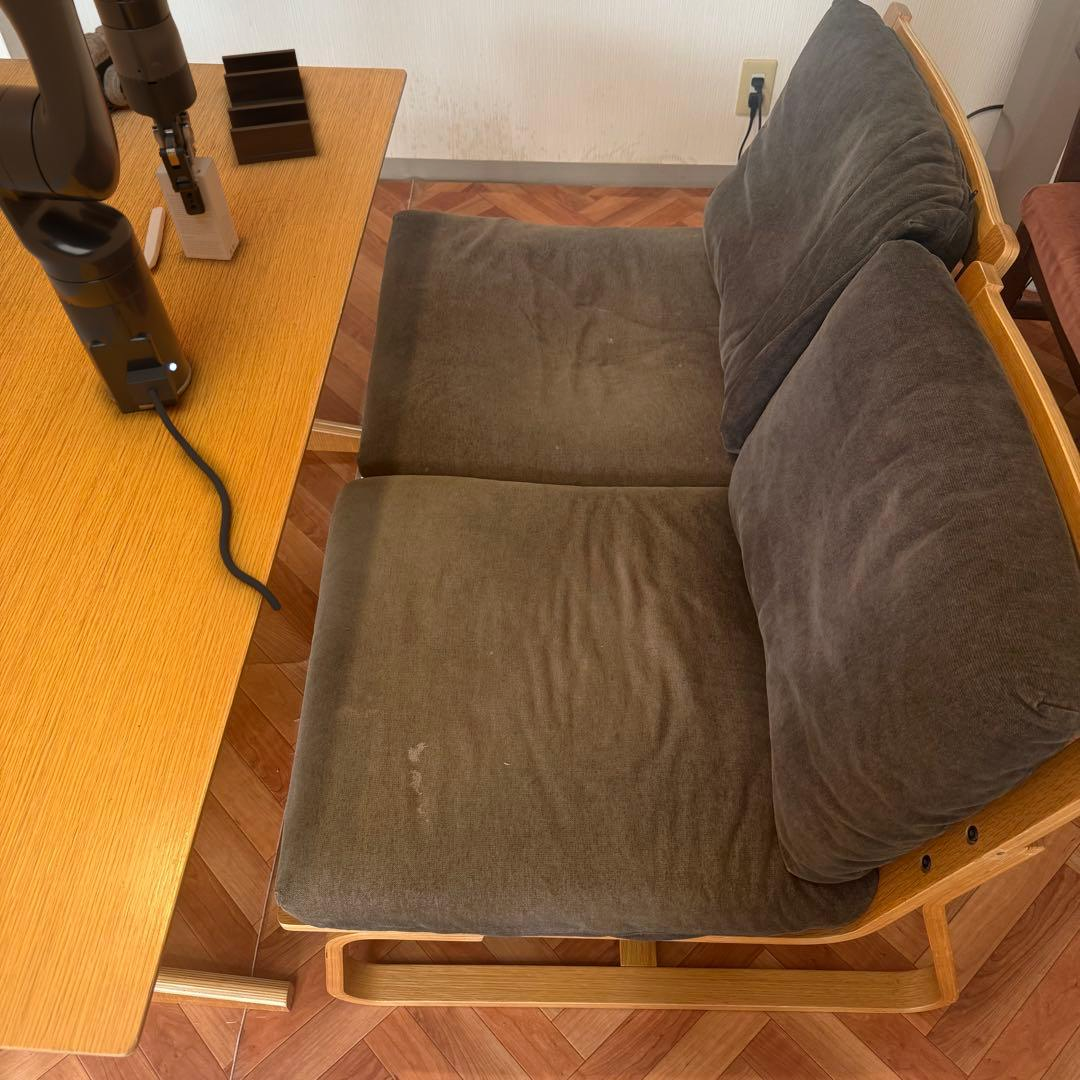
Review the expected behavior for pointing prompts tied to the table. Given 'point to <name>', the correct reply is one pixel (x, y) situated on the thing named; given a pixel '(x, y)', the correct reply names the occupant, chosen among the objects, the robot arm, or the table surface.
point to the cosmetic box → (203, 231)
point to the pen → (154, 236)
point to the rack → (267, 107)
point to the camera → (105, 69)
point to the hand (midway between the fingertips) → (195, 198)
